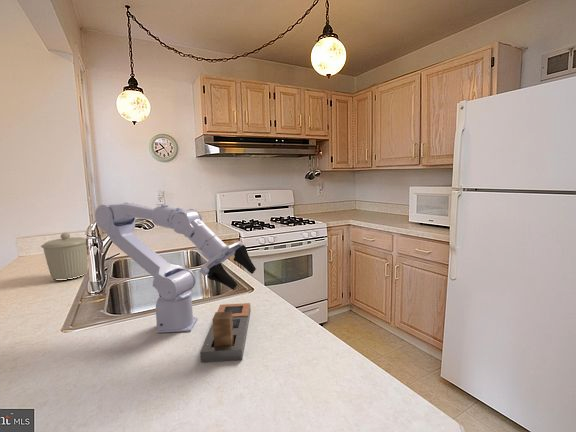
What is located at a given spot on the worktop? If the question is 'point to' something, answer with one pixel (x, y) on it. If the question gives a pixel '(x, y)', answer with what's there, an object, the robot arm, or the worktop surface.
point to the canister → (66, 256)
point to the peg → (223, 329)
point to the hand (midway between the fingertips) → (245, 279)
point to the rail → (239, 333)
